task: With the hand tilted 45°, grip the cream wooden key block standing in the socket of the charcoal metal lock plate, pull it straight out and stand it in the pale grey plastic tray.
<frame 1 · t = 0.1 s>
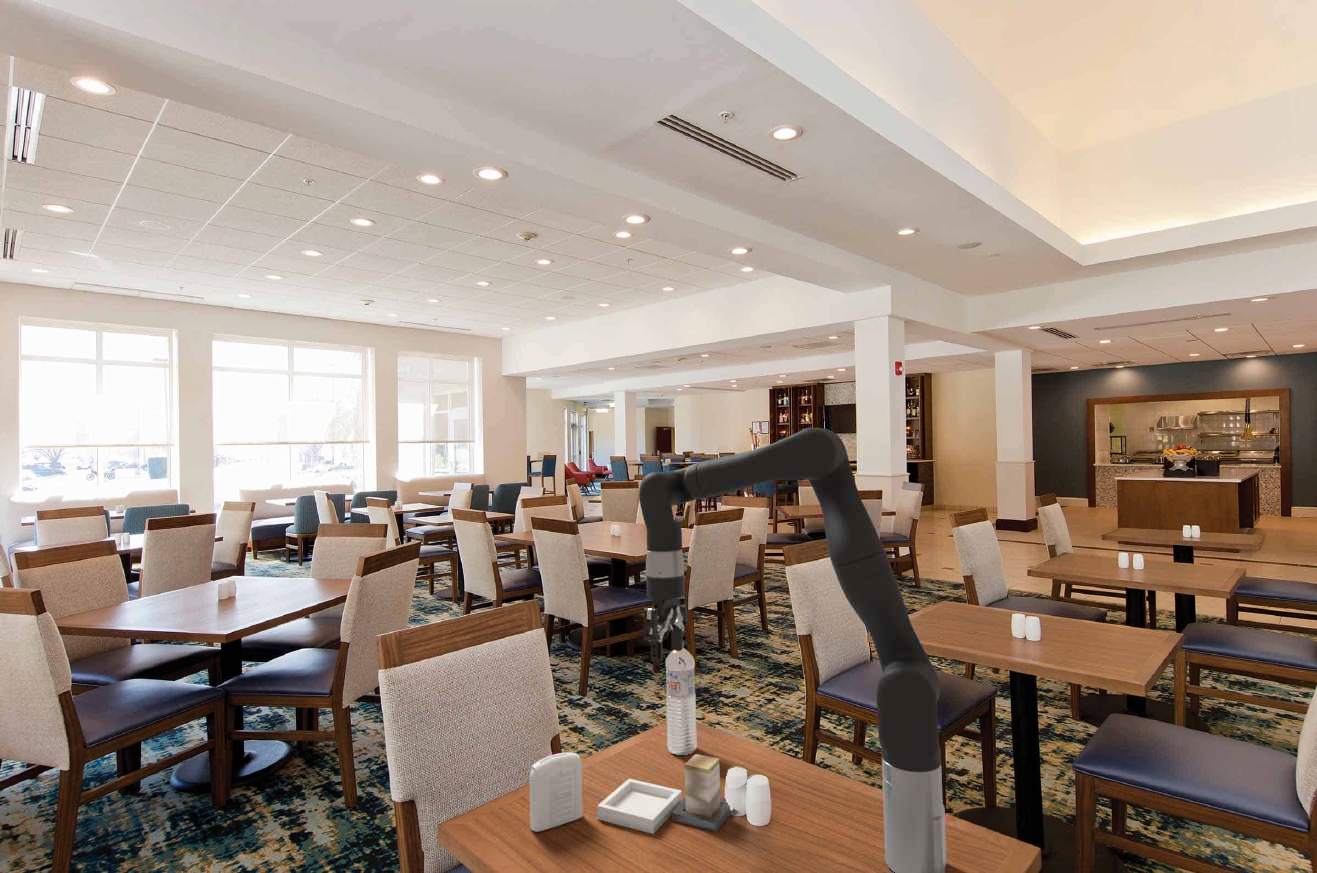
hand: (667, 655, 133), 29 cm above the table, tool pointing down, fingers open, 8 cm apart
key block: (702, 788, 129), in the lock plate
white rounded slab: (556, 823, 128), on the table
water bottle: (682, 751, 158), on the table
lock plate: (703, 814, 129), on the table
tray: (640, 811, 131), on the table
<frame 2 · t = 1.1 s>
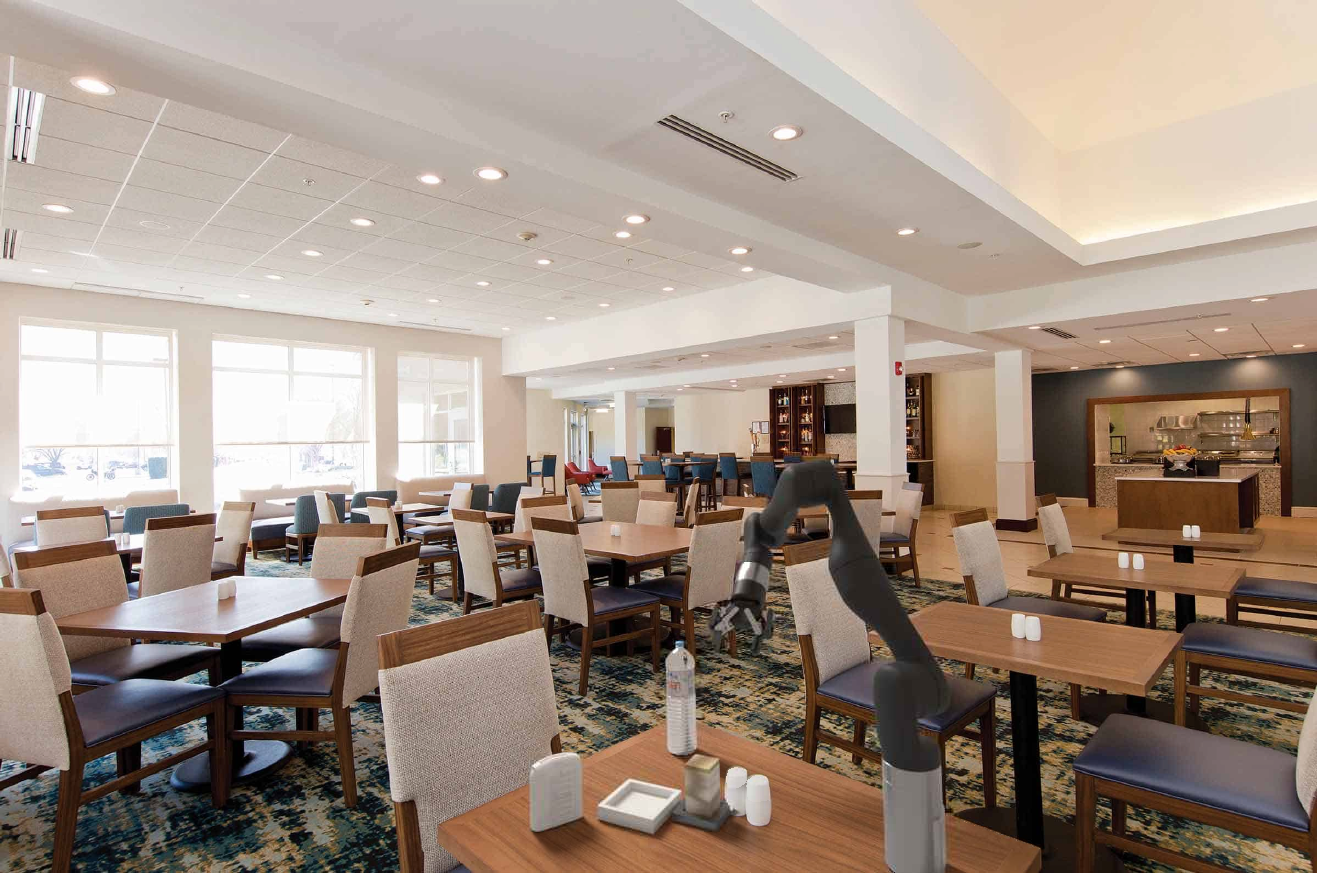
hand: (734, 651, 144), 27 cm above the table, tool tilted 45°, fingers open, 8 cm apart
nothing on the table moved.
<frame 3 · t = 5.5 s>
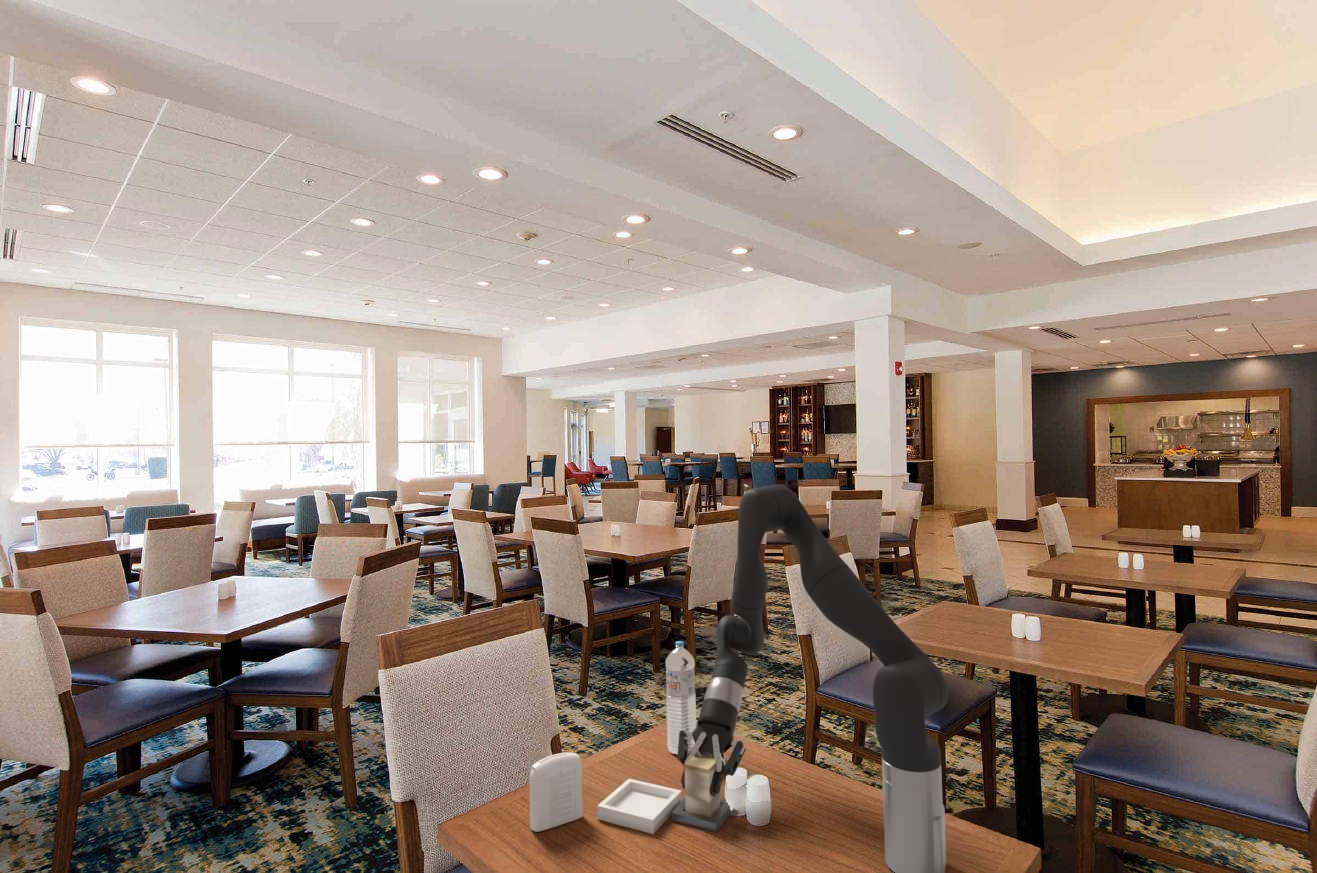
hand: (698, 791, 128), 5 cm above the table, tool tilted 45°, fingers closed on key block, 5 cm apart
key block: (702, 788, 129), in the lock plate, touching gripper
everything else where it was.
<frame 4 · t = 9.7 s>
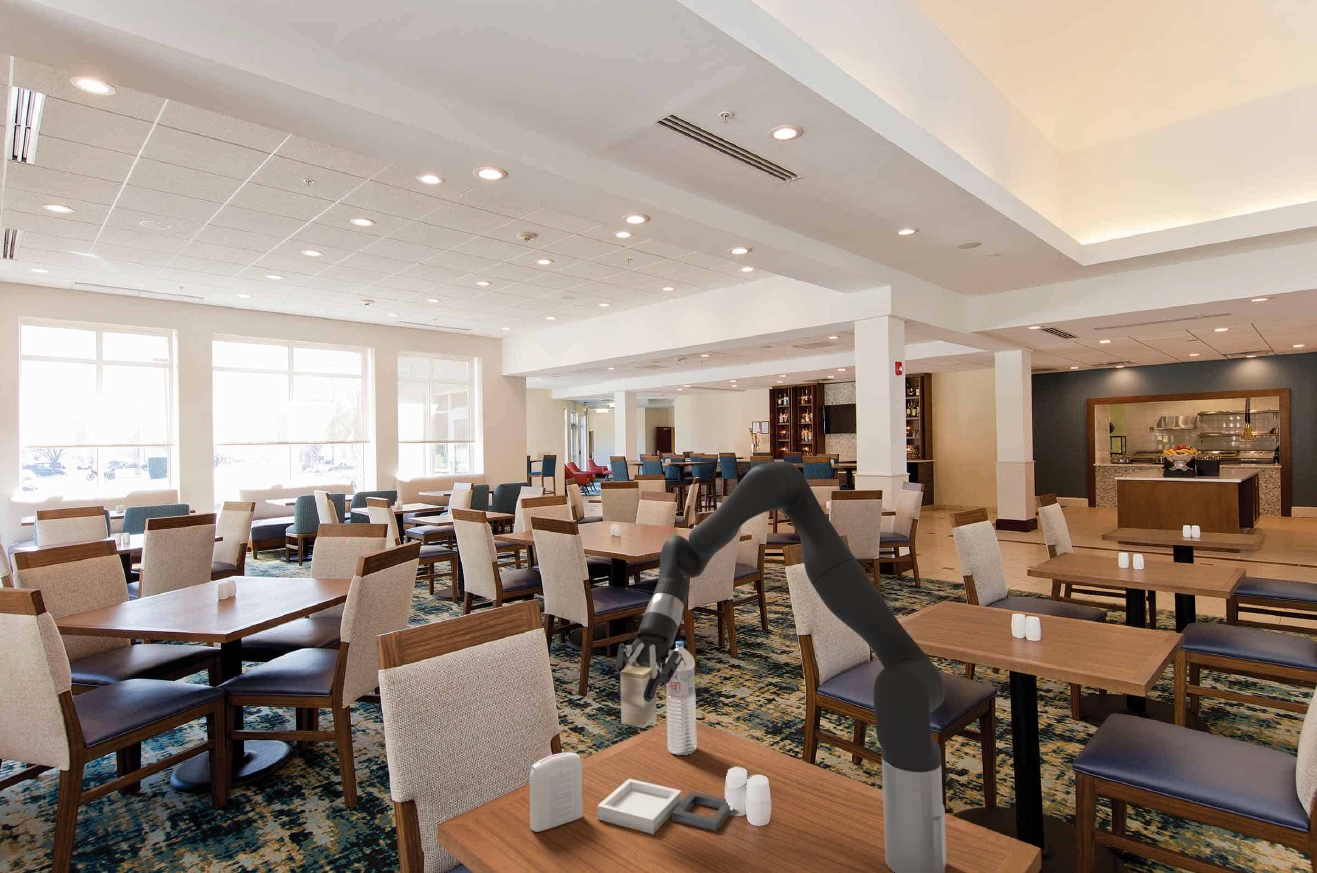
hand: (633, 697, 130), 22 cm above the table, tool tilted 45°, fingers closed on key block, 5 cm apart
key block: (638, 695, 132), point 22 cm above the table, touching gripper
everything else where it was.
when the fingers open (7 cm above the table, at t = 13.9 s): key block stays where it is, resting on tray.
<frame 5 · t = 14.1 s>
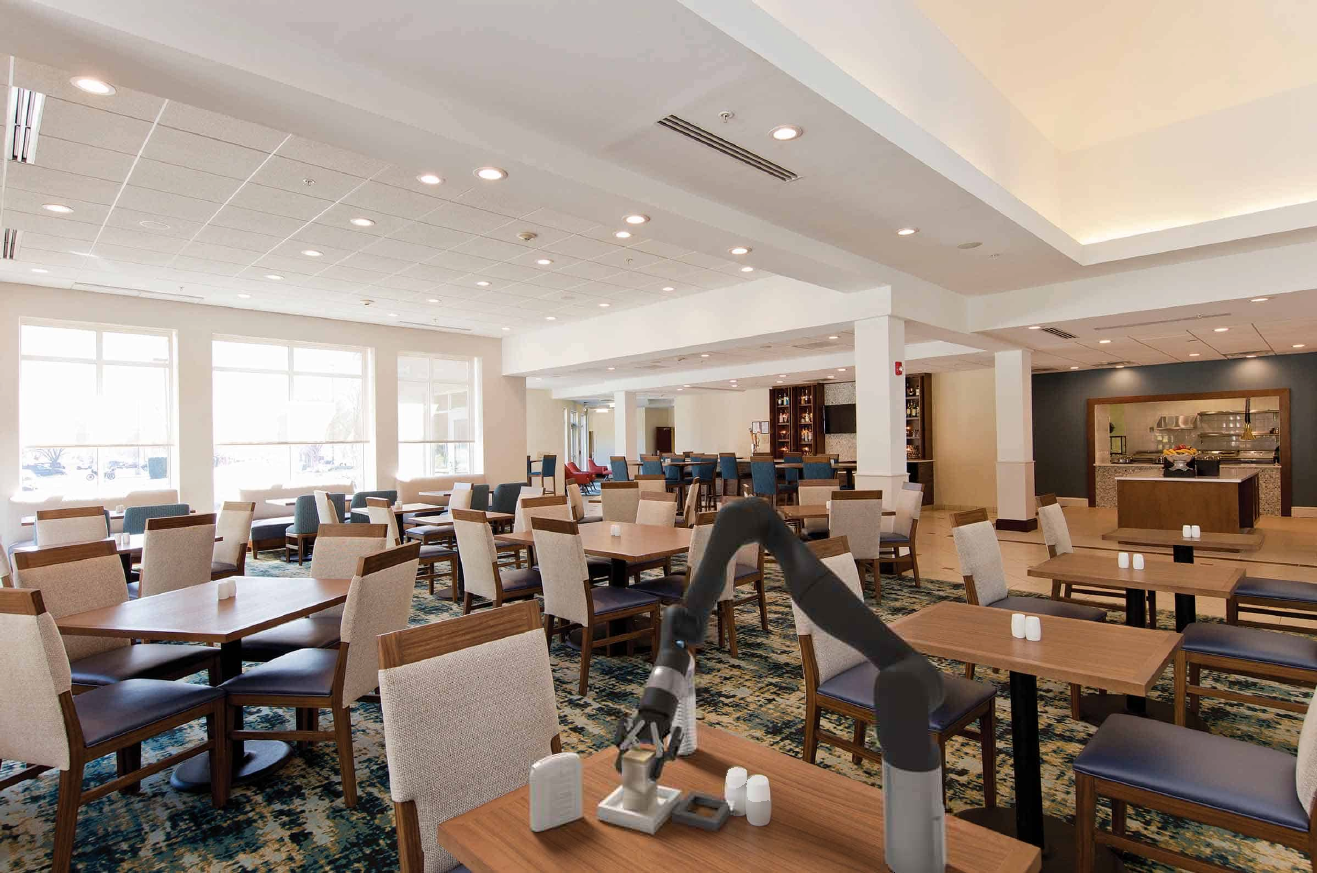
hand: (635, 775, 130), 7 cm above the table, tool tilted 45°, fingers open, 6 cm apart
key block: (639, 779, 131), in the tray, point 6 cm above the table
everything else where it was.
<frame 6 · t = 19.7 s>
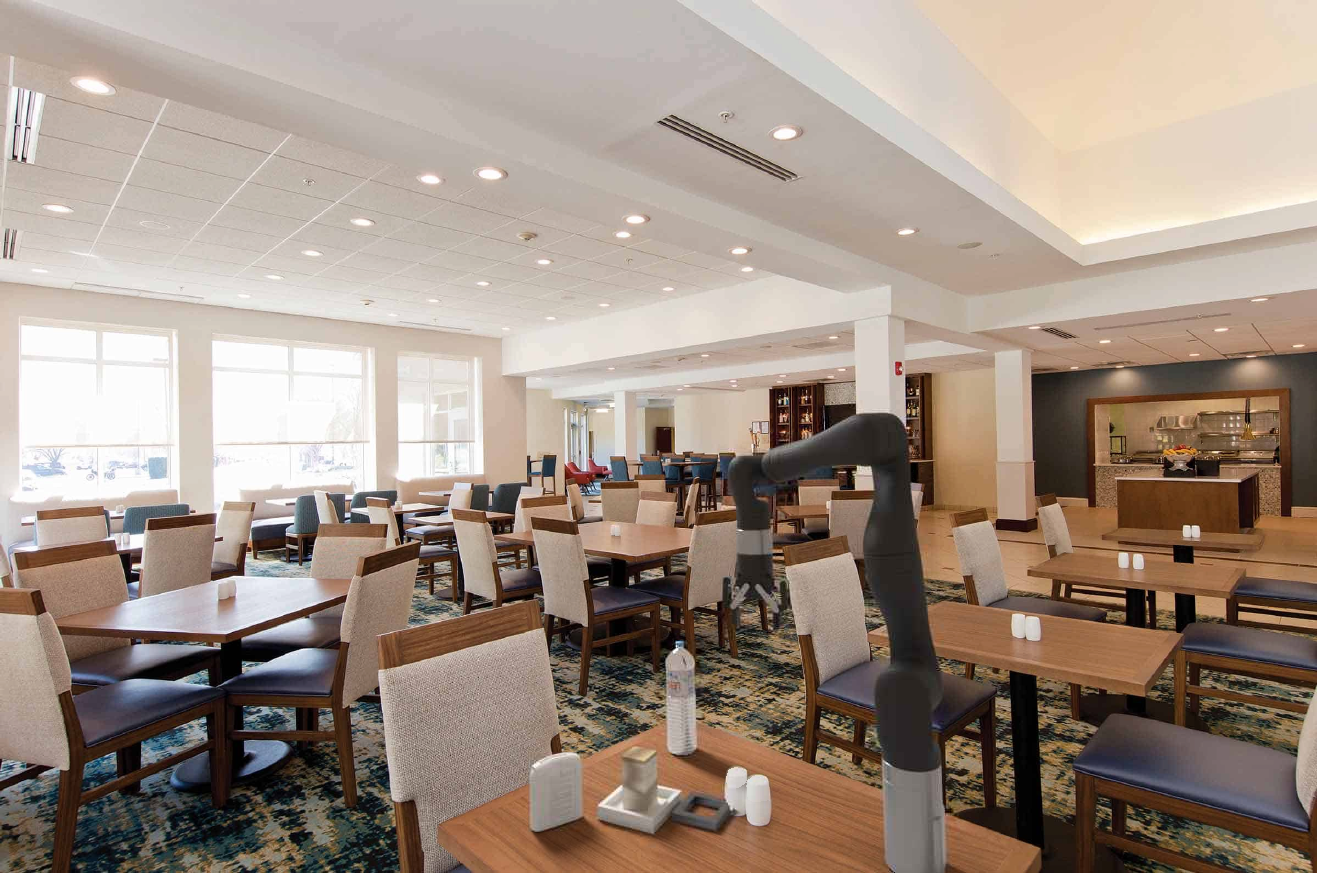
hand: (756, 628, 142), 32 cm above the table, tool pointing down, fingers open, 8 cm apart
nothing on the table moved.
at the end: key block inside the target area on the tray (0.0 cm from its centre), point 6.0 cm above the tray's base; the gripper is holding nothing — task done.
